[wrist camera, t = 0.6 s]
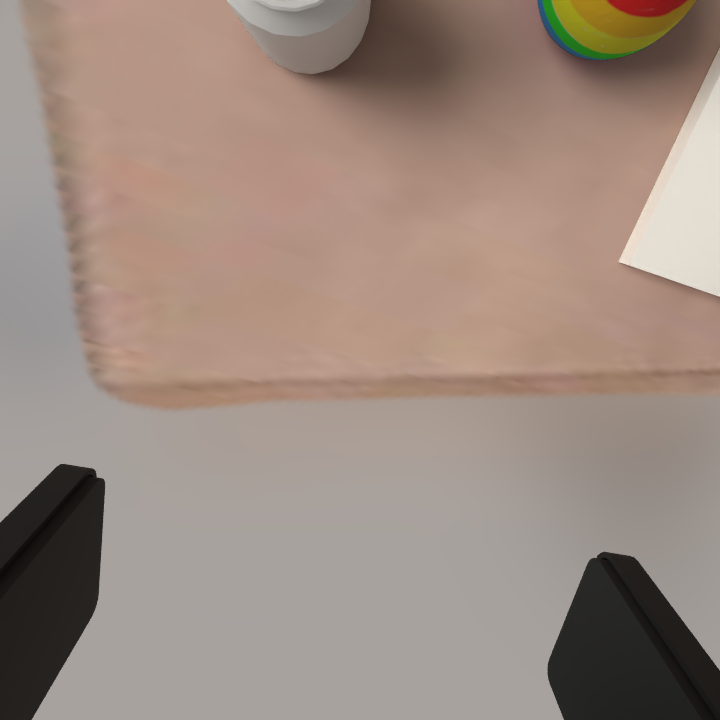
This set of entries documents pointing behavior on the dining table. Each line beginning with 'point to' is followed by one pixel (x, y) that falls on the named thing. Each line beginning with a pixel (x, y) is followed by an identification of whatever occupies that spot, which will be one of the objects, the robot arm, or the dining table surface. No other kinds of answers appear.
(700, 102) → the post board
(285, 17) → the can
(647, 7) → the decorative egg
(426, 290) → the dining table surface
